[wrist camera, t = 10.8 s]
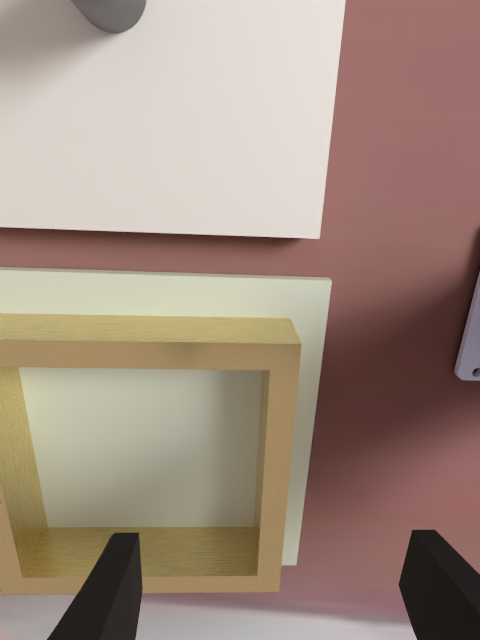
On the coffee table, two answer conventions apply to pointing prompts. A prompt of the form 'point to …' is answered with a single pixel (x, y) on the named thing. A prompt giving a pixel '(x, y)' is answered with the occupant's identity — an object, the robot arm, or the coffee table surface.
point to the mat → (163, 404)
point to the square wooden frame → (155, 542)
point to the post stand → (167, 114)
